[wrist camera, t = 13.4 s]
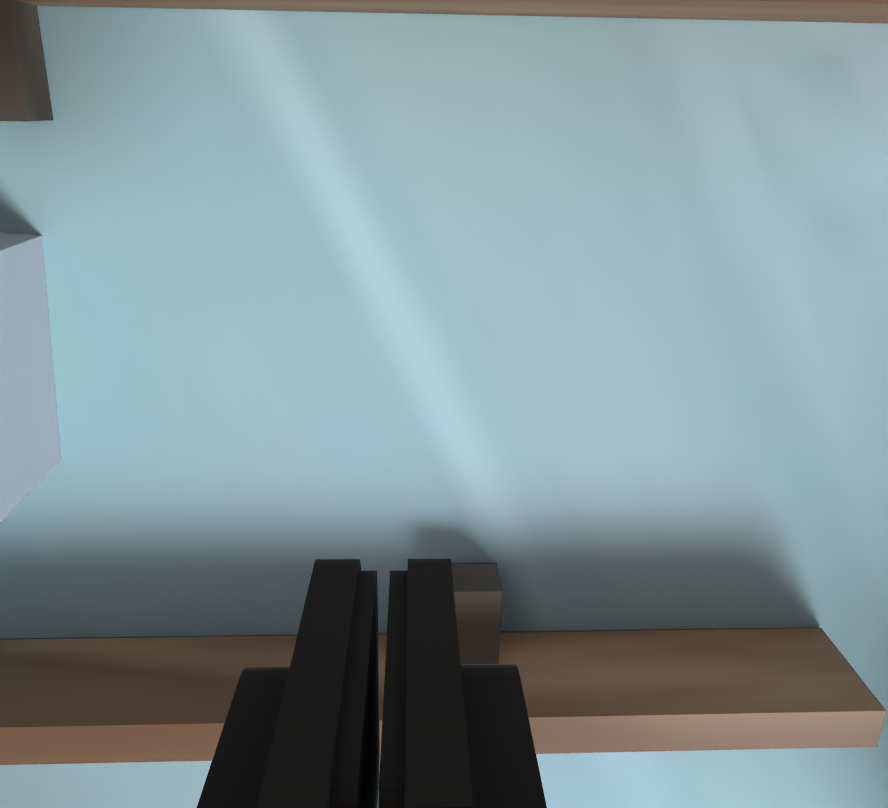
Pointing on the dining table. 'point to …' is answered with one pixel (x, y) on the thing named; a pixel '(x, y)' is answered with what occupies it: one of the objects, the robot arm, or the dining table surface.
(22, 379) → the block
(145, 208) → the dining table surface
